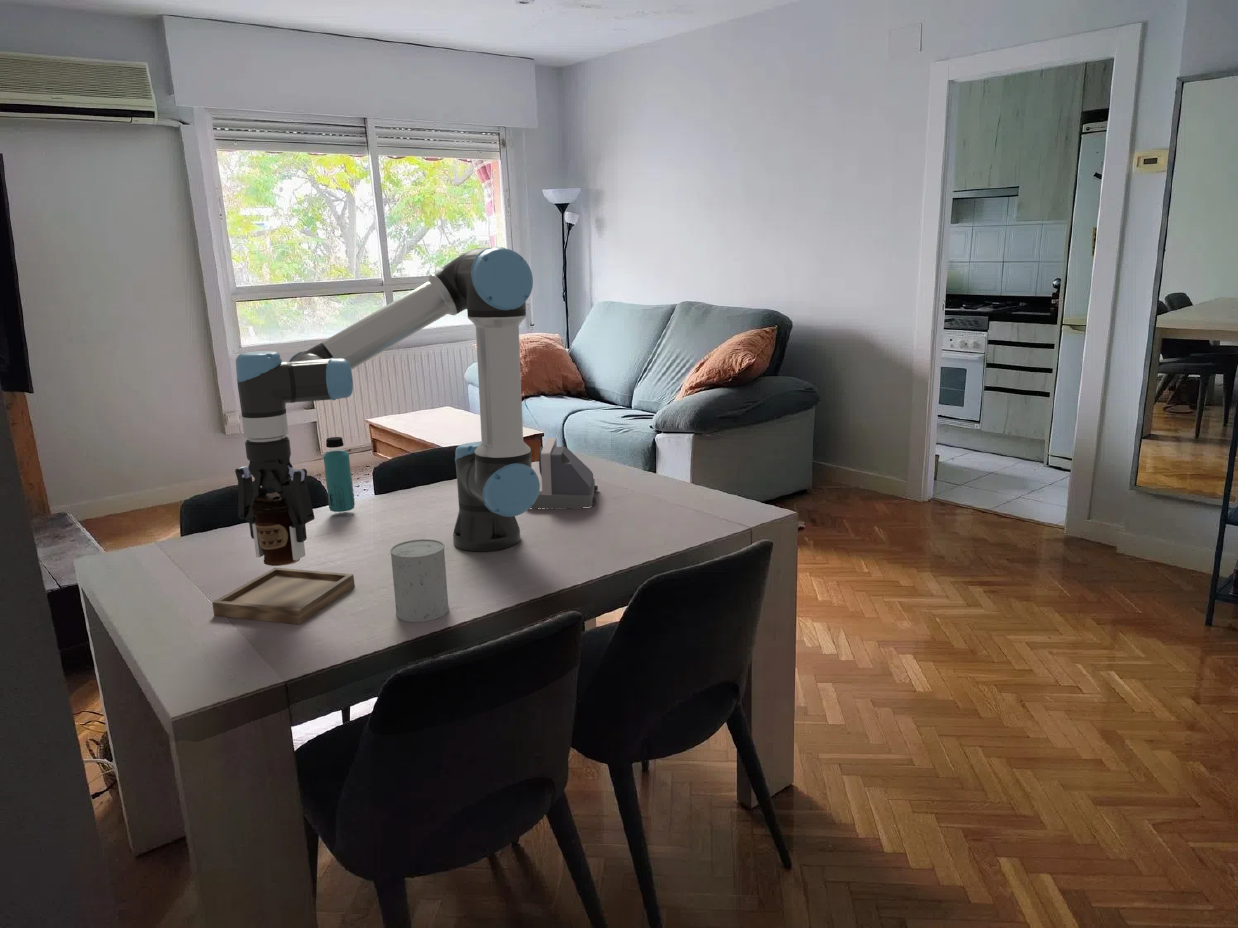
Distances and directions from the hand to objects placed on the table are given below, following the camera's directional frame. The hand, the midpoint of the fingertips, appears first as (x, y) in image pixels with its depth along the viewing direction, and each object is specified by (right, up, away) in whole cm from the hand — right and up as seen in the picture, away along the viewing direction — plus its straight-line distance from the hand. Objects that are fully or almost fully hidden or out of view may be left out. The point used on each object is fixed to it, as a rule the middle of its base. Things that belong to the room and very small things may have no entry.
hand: (280, 556), depth 159 cm
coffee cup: (0, -1, 0) cm, 1 cm away
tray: (0, -9, +2) cm, 9 cm away
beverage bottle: (-7, +4, +56) cm, 57 cm away
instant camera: (+48, +8, +66) cm, 82 cm away
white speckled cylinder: (+28, -10, -4) cm, 30 cm away
